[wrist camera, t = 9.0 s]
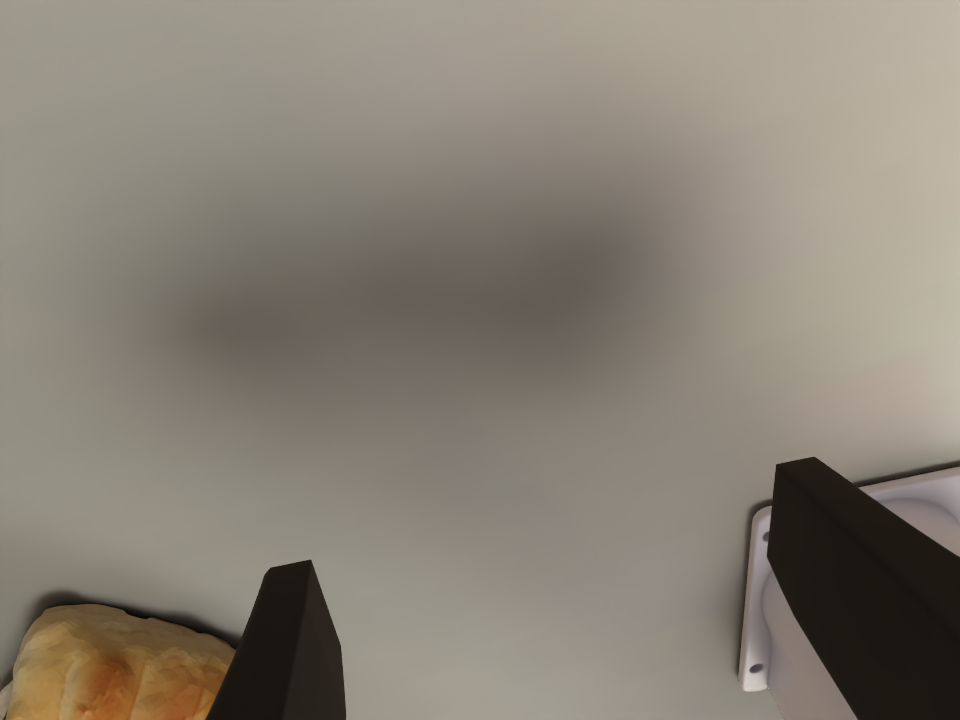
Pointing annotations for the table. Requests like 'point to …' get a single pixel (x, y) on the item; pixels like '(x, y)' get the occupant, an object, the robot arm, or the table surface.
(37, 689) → the pastry
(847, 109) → the table surface
